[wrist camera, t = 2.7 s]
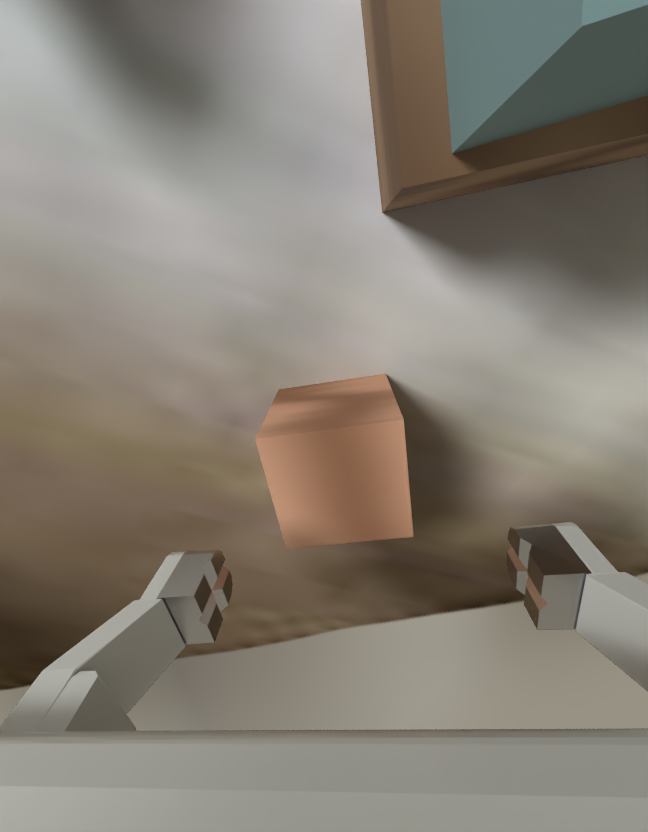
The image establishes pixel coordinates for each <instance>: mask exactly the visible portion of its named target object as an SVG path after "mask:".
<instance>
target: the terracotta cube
mask: <svg viewBox="0 0 648 832" xmlns="http://www.w3.org/2000/svg"><path fill="white" fill-rule="evenodd" d="M255 440H256V444H257V447H258V451H259V454H260V458H261V461H262V465H263V468H264V472H265V475H266V479H267V483H268V486H269V490H270V493H271V497H272V500H273V504H274V507H275V511H276V514H277V518H278V521H279V525H280V528H281V532H282V535H283V539H284V542H285V546H286V549H289V548H299V547H310V546H321V545H331V544H342V543H352V542H363V541H374V540H384V539H395V538H405V537H413V525H412V513H411V501H410V489H409V477H408V465H407V453H406V441H405V429H404V419H403V416H402V414H401V411H400V409H399V406H398V404H397V401H396V399H395V396H394V394H393V391H392V389H391V386H390V383H389V381H388V378H387V376H386V374H381V375H374V376H368V377H361V378H354V379H347V380H341V381H334V382H327V383H320V384H313V385H307V386H300V387H293V388H286V389H280V390H279V391H278V393H277V395H276V397H275V399H274V401H273V403H272V405H271V407H270V409H269V411H268V413H267V416H266V418H265V420H264V422H263V424H262V426H261V428H260V430H259V432H258V434H257V436H256V438H255Z"/></svg>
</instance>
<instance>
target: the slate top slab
mask: <svg viewBox="0 0 648 832" xmlns="http://www.w3.org/2000/svg"><path fill="white" fill-rule="evenodd" d="M440 2H441V15H442V28H443V41H444V55H445V68H446V81H447V94H448V107H449V120H450V133H451V147H452V154H453V153H456V152H459V151H463V150H466V149H470V148H473V147H476V146H480V145H483V144H486V143H490V142H493V141H496V140H500V139H503V138H507V137H510V136H513V135H517V134H520V133H523V132H527V131H530V130H534V129H537V128H540V127H544V126H547V125H550V124H554V123H557V122H561V121H564V120H567V119H571V118H574V117H577V116H581V115H584V114H588V113H591V112H594V111H598V110H601V109H604V108H608V107H611V106H615V105H618V104H621V103H625V102H628V101H631V100H635V99H638V98H642V97H645V96H648V0H440Z"/></svg>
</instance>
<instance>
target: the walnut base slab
mask: <svg viewBox="0 0 648 832" xmlns="http://www.w3.org/2000/svg"><path fill="white" fill-rule="evenodd" d="M361 7H362V17H363V27H364V37H365V46H366V56H367V66H368V76H369V86H370V96H371V106H372V116H373V126H374V136H375V146H376V156H377V165H378V175H379V185H380V195H381V205H382V212H386V211H391V210H395V209H400V208H405V207H409V206H414V205H418V204H423V203H428V202H432V201H437V200H442V199H446V198H451V197H456V196H460V195H465V194H469V193H474V192H479V191H483V190H488V189H493V188H497V187H502V186H506V185H511V184H516V183H520V182H525V181H530V180H534V179H539V178H544V177H548V176H553V175H557V174H562V173H567V172H571V171H576V170H581V169H585V168H590V167H594V166H599V165H604V164H608V163H613V162H618V161H622V160H627V159H632V158H636V157H641V156H645V155H648V96H645V97H642V98H638V99H635V100H631V101H628V102H625V103H621V104H618V105H615V106H611V107H608V108H604V109H601V110H598V111H594V112H591V113H588V114H584V115H581V116H577V117H574V118H571V119H567V120H564V121H561V122H557V123H554V124H550V125H547V126H544V127H540V128H537V129H534V130H530V131H527V132H523V133H520V134H517V135H513V136H510V137H507V138H503V139H500V140H496V141H493V142H490V143H486V144H483V145H480V146H476V147H473V148H470V149H466V150H463V151H459V152H456V153H453V154H452V147H451V133H450V120H449V107H448V94H447V81H446V68H445V55H444V41H443V28H442V15H441V2H440V0H361Z"/></svg>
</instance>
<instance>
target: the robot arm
mask: <svg viewBox="0 0 648 832" xmlns="http://www.w3.org/2000/svg"><path fill="white" fill-rule="evenodd" d="M508 540H509V542H510V544H511V545H512V547H511V548H510V549H509V550H508V551H507V565H508V570H509V574H510V576H511V579H512V581H513V583H514V586H515V588H516V589H517V590H518V591H520V592H521V593H523V594H524V595H525V601H524V605H525V607H526V609H527V611H528V613H529V615H530V617H531V619H532V620H533V622H534V624H535V626H536V628H537V630H552V629H553V630H557V629H576V632H577V633H578V634H580V635H581V636H582V637H583V638H584V639H585V640H587V641H588V642H589V643H590V644H592V645H593V646H594V647H595V648H596V649H597V650H599V651H600V652H601V653H602V654H604V655H605V656H606V657H607V658H608V659H609V660H611V661H612V662H613V663H614V664H615V665H617V666H618V667H619V668H621V669H622V670H623V671H624V672H625V673H626V674H628V675H629V676H630V677H631V678H632V679H633V680H635V681H636V682H637V683H638V684H639V685H641V686H642V687H643V688H644V689H645V690H647V691H648V584H647V583H645V582H643V581H641V580H640V579H638V578H636V577H634V576H632V575H630V574H628V573H626V572H618V571H617V570H616V569H615V568H614V567H613V566H612V565H611V563H610V562H609V561H608V560H607V559H606V558H605V557H604V556H603V554H602V553H601V552H600V551H599V550H598V549H597V548H596V546H595V545H594V544H593V543H592V542H591V541H590V540H589V539H588V537H587V536H586V535H585V534H584V533H583V532H582V531H581V529H580V528H579V527H578V526H577V525H576V524H574V523H572V522H567V523H555V524H550V525H549V524H545V525H534V526H522V527H510V529H509V531H508ZM224 561H225V558H224V555H223V553H222V551H220V550H204V551H187V552H172V553H171V554H169V555H168V556H167V557H166V558H165V560H164V562H163V563H162V565H161V566H160V568H159V570H158V571H157V573H156V574H155V576H154V577H153V579H152V581H151V582H150V584H149V585H148V587H147V589H146V590H145V592H144V593H143V595H142V597H141V598H140V600H134V601H133V602H132V603H130V604H129V605H128V606H126V607H125V608H124V609H122V610H121V611H120V612H118V613H117V614H116V615H115V616H113V617H112V618H111V619H109V620H108V621H107V622H105V623H104V624H103V625H101V626H100V627H99V628H97V629H96V630H95V631H94V632H92V633H91V634H90V635H88V636H87V637H86V638H84V639H83V640H82V641H80V642H79V643H78V644H77V645H75V646H74V647H73V648H71V649H70V650H69V651H67V652H66V653H65V654H63V655H62V656H61V657H59V658H58V659H57V660H56V661H54V662H53V663H52V664H50V665H49V666H48V667H46V668H45V669H44V670H42V672H41V673H40V674H39V676H38V677H37V678H36V680H35V681H34V682H33V684H32V685H31V686H30V688H29V689H28V690H27V692H26V693H25V694H24V696H23V697H22V698H21V700H20V701H19V702H18V703H17V705H16V706H15V707H14V709H13V710H12V711H11V713H10V714H9V715H8V717H7V718H6V719H5V721H4V722H3V723H2V725H1V726H0V832H648V729H485V730H484V729H479V730H478V729H472V730H470V729H469V730H467V729H465V730H464V729H462V730H268V731H267V730H266V731H265V730H261V731H258V730H255V731H254V730H252V731H250V730H249V731H136V728H135V726H134V725H133V723H132V722H131V721H130V719H129V718H128V716H127V715H126V714H127V713H128V712H129V711H130V710H131V708H132V707H133V706H134V705H135V704H136V703H137V702H138V700H139V699H140V698H141V697H142V696H143V695H144V694H145V692H146V691H147V690H148V689H149V688H150V686H152V684H153V683H154V682H155V681H156V680H157V679H158V677H159V676H160V675H161V674H162V673H163V672H164V670H165V669H166V668H167V667H168V666H169V665H170V664H171V662H172V661H173V660H174V659H175V658H176V657H177V656H178V655H179V653H180V652H181V651H182V650H183V649H184V648H185V644H199V643H213V642H215V640H216V637H217V634H218V632H219V629H220V626H221V623H222V621H223V618H222V615H221V611H222V610H223V609H224V608H225V607H226V606H227V605H228V604H229V601H230V598H231V594H232V576H231V574H230V571H229V570H228V569H227V568H226V567H224V566H223V563H224Z"/></svg>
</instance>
